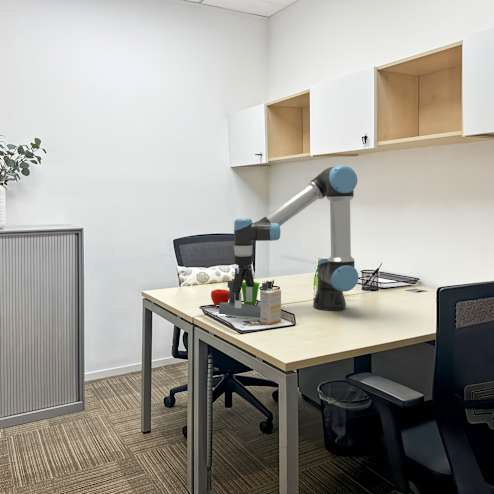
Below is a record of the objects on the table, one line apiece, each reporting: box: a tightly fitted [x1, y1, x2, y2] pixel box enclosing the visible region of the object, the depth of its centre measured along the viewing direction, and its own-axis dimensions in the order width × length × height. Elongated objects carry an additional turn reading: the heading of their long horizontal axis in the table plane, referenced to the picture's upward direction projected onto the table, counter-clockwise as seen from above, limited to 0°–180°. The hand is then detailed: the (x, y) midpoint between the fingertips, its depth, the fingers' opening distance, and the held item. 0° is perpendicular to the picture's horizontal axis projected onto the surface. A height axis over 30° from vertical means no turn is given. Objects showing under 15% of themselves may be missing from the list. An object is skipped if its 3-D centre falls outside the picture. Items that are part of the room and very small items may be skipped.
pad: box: [227, 315, 260, 321], centre depth 215 cm, size 22×7×1 cm, turn 70°
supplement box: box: [259, 288, 282, 326], centre depth 204 cm, size 8×5×13 cm, turn 141°
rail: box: [218, 302, 261, 318], centre depth 214 cm, size 20×4×4 cm, turn 70°
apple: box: [210, 288, 229, 306], centre depth 235 cm, size 9×9×8 cm
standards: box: [227, 278, 273, 303], centre depth 222 cm, size 21×6×14 cm, turn 70°
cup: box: [241, 281, 261, 305], centre depth 235 cm, size 9×9×11 cm
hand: (243, 304), depth 214 cm, fingers open, 13 cm apart
